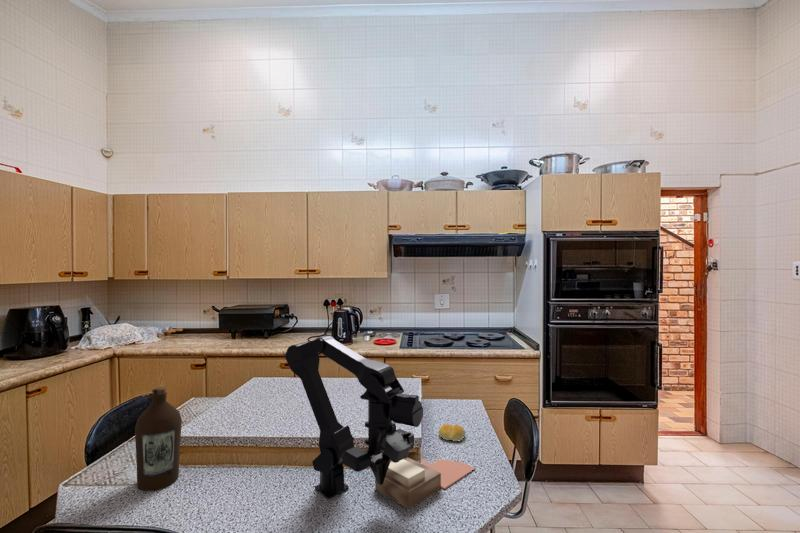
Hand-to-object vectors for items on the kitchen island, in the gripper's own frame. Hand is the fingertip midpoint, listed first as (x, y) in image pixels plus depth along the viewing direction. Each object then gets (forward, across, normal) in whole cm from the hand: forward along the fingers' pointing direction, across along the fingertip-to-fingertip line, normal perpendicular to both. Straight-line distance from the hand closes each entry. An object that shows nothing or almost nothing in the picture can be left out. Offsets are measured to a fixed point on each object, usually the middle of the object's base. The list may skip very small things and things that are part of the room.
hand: (380, 484), depth 90 cm
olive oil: (+5, -36, +50) cm, 61 cm away
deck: (+5, +10, 0) cm, 11 cm away
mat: (+5, +23, 0) cm, 23 cm away
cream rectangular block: (+1, +8, 0) cm, 8 cm away
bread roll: (+6, +43, +11) cm, 44 cm away
